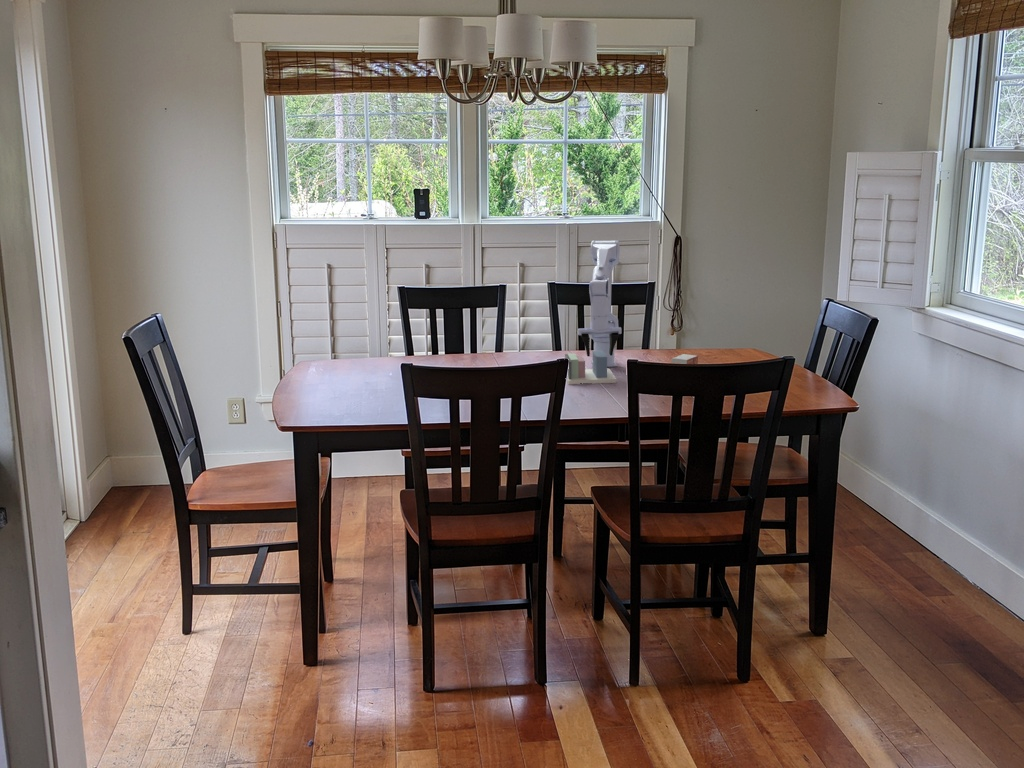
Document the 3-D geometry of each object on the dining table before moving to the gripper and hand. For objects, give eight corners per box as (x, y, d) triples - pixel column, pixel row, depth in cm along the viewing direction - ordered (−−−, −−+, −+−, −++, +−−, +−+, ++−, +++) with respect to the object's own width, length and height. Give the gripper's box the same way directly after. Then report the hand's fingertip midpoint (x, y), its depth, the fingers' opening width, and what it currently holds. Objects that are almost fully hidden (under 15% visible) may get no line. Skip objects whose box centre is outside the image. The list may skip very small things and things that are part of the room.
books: (567, 371, 337) (567, 353, 335) (581, 371, 337) (581, 353, 335) (571, 378, 327) (570, 359, 326) (585, 378, 327) (585, 359, 326)
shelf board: (563, 373, 340) (563, 369, 340) (609, 371, 341) (609, 368, 340) (568, 384, 324) (568, 380, 324) (616, 382, 325) (616, 379, 325)
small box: (686, 392, 311) (686, 359, 308) (670, 390, 314) (670, 357, 312) (697, 387, 317) (698, 355, 315) (682, 385, 320) (682, 353, 318)
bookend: (564, 371, 338) (564, 354, 336) (567, 371, 338) (567, 354, 336) (568, 379, 326) (568, 361, 325) (571, 379, 326) (571, 361, 325)
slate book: (592, 371, 337) (592, 351, 335) (602, 370, 337) (602, 350, 335) (596, 377, 327) (596, 357, 326) (607, 377, 327) (607, 356, 326)
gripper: (579, 318, 323) (579, 358, 327) (623, 316, 324) (623, 357, 327) (576, 314, 330) (577, 354, 334) (619, 313, 331) (619, 352, 334)
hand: (599, 355), depth 331 cm, fingers open, 7 cm apart
